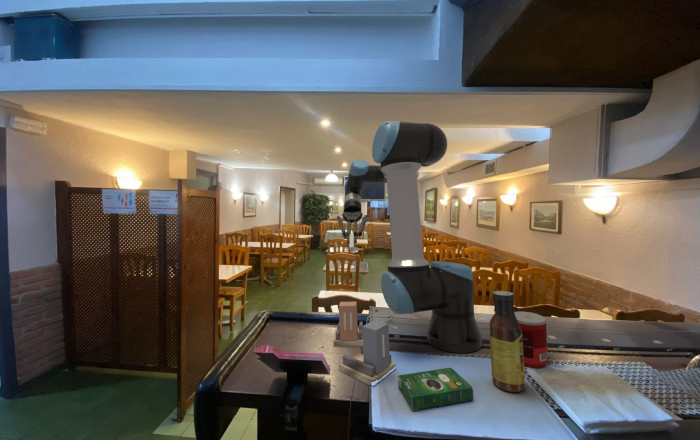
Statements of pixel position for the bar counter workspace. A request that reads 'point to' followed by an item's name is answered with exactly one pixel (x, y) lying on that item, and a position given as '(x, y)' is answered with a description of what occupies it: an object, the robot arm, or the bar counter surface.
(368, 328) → the slate key
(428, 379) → the coffee box
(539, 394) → the bar counter surface
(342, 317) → the pinkish brown tall block
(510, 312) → the sauce bottle
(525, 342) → the canned food
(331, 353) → the bar counter surface
